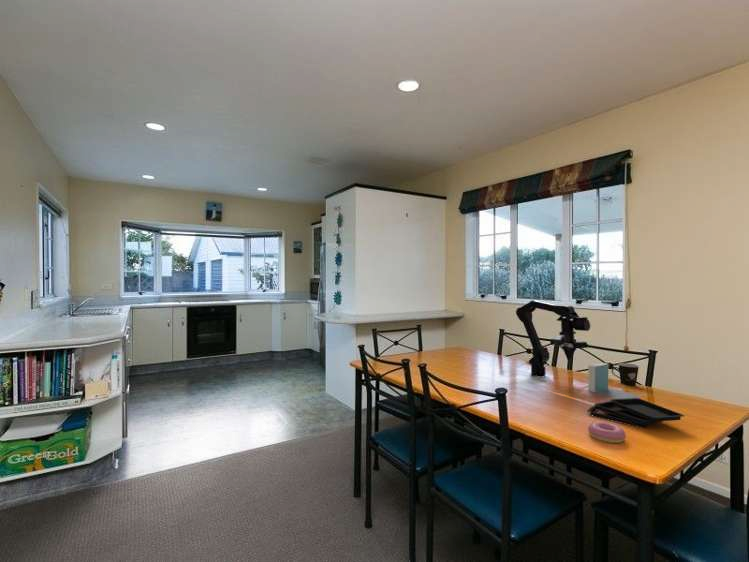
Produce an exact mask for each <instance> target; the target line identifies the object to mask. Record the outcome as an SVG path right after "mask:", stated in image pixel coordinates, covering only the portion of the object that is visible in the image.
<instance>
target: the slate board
mask: <svg viewBox="0 0 749 562" xmlns="http://www.w3.org/2000/svg"><path fill="white" fill-rule="evenodd" d="M582 391H583V392H586V393H590V394H594V395H597V396H602V397H605V398H608V399H610V400H611V399H627V398H639V399H640V398H643V395H641V394H635V393H631V392H628V391H623V390H619V389H616V388H612V387H608V389H606V390H601V391H597V392H592V391H589V390H588V388H587V389H583V390H582Z"/></svg>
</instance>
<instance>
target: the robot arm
mask: <svg viewBox="0 0 749 562" xmlns="http://www.w3.org/2000/svg"><path fill="white" fill-rule="evenodd" d="M537 309H539V310H543V311H547V312H552V313H554V314H555V315H558V316H559V317H558V318H557V319H556V321H557V322H560V329H561V331H559V333H558V335H556V336H554V337H553V338H552V339H550V343H549V344H550V345H553V346H555V345H556V346H557V345H558V348H560V349H562V350H563V352H564V355H565V357H566V359H567V361H571V360H572V358H573V355H574V354H575V351H576V350H577V349H588V348H589V347H588V343H587V342H586V341H577V340H576V339H575V334H577V333H576V331H581V332H588V331H590V329H591V323H590V320H589V319H588V317H587V316H585V317H584V316H582V317H580V316H579V314H578V313H577V311H575V307H574V306H573V305H568V304H567V305H565V304H564V305H563V304H553V303H550V302H549V303H548V302H544V301H539V300H530V301H529V302H528V303H526V304H524V305H522V306H519V307H517V309H516V310H515V313H516V316H517V318H518V320H520V322H521V323H523V327H524V329H525V332H526V334H527V336H528V339H529V342H530V344H531V347H532V353H531V354H532V357H531V358H530V359H528V363H529V365H531V369H530V372H531V373H530V376H531V377H538V378H544V377H545V375H546V370H547V369H546V368H547V367H546V364H547V363H548V362H549V360H550V357H551V356H550V352H549V350H548V349H549V348H548V347H544V346H543V345H542V343H541V341H540V338H539V335H538V332H537V330H536V328H535V325H534V323H533V312H534V311H536V310H537ZM574 330H575V331H574ZM543 376H544V377H543Z"/></svg>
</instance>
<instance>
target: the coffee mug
mask: <svg viewBox="0 0 749 562" xmlns="http://www.w3.org/2000/svg"><path fill="white" fill-rule="evenodd" d="M639 368H640V366H639V365H638V364H634V363H627V362H624V363H623V362H622V363H618V366H613V367H612V368H611V373H612V374H613V376H615V377H616V378H618V379H620V384H621V385H624V386H629V387H632V386H633V387H636V386H637V381H638V375H639V374H638V373H639ZM614 369H617V370H618V372H619V373H618V374H619V376H618V375H617V374H615V373H614ZM635 385H636V386H635Z"/></svg>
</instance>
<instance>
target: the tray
mask: <svg viewBox="0 0 749 562" xmlns="http://www.w3.org/2000/svg"><path fill="white" fill-rule="evenodd" d="M596 409H597V410H598V411H601V412H604V413H605V414H603V413H598V412H596V411H597V410H596ZM595 410H596V411H595ZM594 411H595V412H594ZM587 412H589V413H590V416H592V415H593V416H592V417H595V416H596V418H599V417H600V418H599V419H603V418H604V419H603V420H607V419H609V420H608V421H611V420H613V421H612V422H615V421H617V422H616V423H619V422H622V423H621V424H624V423H626V424H625V425H628V424H630V425H629V426H632V425H634V426H633V427H636V426H638V427H637V428H640V427H642V428H641V429H647V428H648V427H649V426H651V425H654V424H658V423H662V422H669V421H681V417H685V415H684V414H682V413H680V412H676V411H675V410H672V409H669V408H666V407H663V406H661V405H658V404H655V403H652V402H650V401H648V400H644V399H642V398H640V397H639V398H627V399H611V398H610V400H607V401H604V402H599V403H595V404H593V406H591V407H590V408H588V409H587ZM606 413H607V414H609V415H606ZM611 415H613V416H611ZM615 416H616V417H615Z"/></svg>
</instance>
